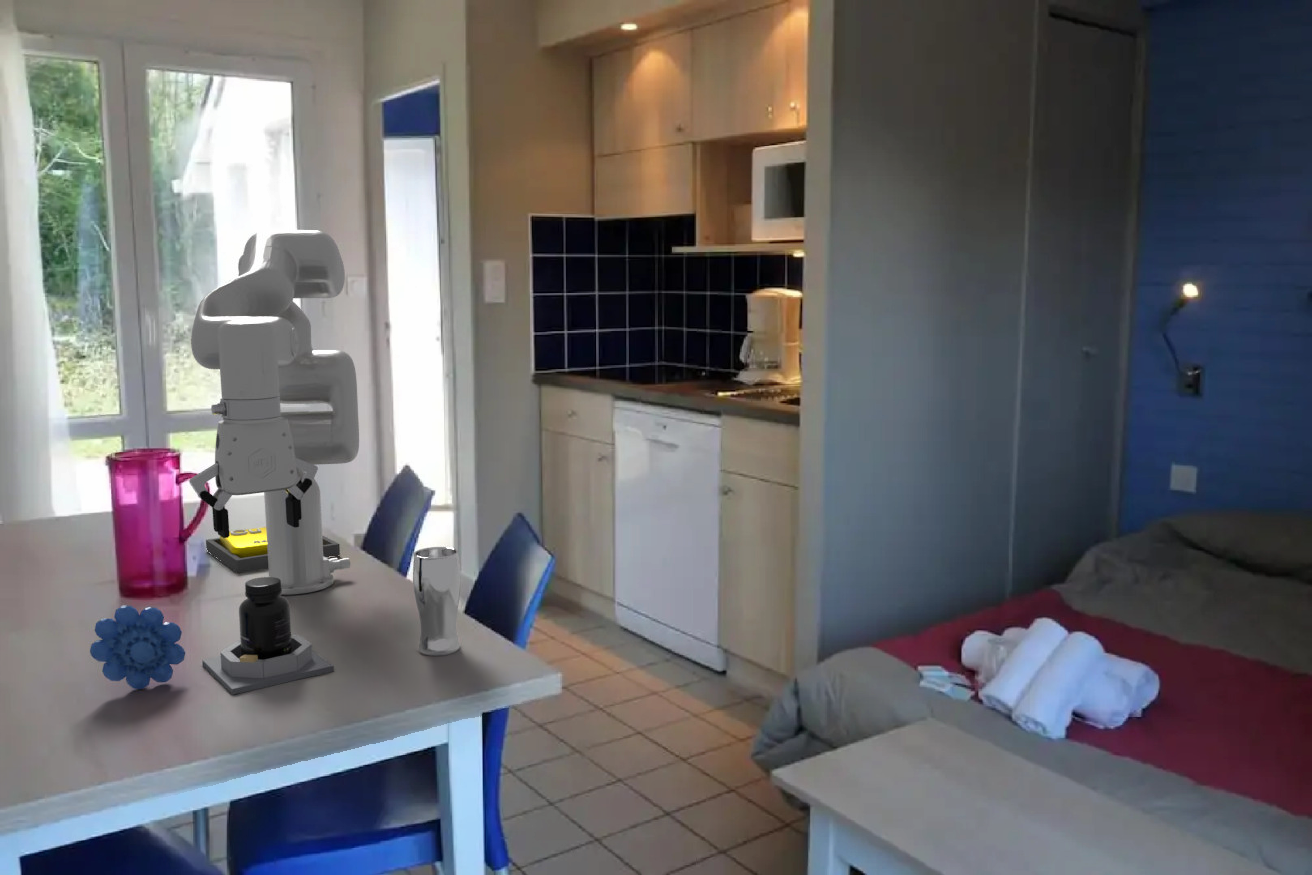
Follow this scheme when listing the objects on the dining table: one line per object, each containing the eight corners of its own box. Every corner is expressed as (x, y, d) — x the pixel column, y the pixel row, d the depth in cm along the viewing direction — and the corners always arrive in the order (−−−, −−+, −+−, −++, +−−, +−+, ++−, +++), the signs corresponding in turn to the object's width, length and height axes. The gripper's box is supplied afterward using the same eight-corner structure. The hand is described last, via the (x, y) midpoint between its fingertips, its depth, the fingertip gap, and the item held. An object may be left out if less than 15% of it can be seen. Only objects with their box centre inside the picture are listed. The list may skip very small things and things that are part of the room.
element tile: (233, 570, 206) (232, 545, 206) (219, 553, 219) (217, 530, 218) (313, 559, 214) (311, 535, 213) (294, 543, 227) (293, 521, 226)
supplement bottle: (232, 668, 152) (226, 586, 150) (259, 652, 158) (254, 573, 156) (276, 672, 150) (271, 589, 148) (301, 655, 157) (297, 575, 155)
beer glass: (422, 660, 157) (419, 560, 155) (410, 645, 163) (406, 549, 161) (468, 652, 160) (465, 554, 158) (454, 638, 166) (452, 544, 164)
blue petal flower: (99, 708, 140) (91, 620, 138) (91, 692, 145) (83, 607, 143) (194, 688, 146) (188, 604, 144) (183, 674, 152) (177, 592, 150)
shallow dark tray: (303, 536, 230) (303, 525, 230) (339, 556, 215) (339, 543, 214) (206, 551, 218) (205, 539, 218) (237, 573, 203) (236, 560, 202)
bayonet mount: (298, 644, 164) (297, 621, 163) (333, 671, 153) (332, 646, 152) (202, 665, 155) (200, 641, 155) (232, 694, 144) (231, 669, 144)
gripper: (193, 418, 140) (202, 545, 143) (323, 407, 151) (328, 526, 153) (178, 412, 146) (186, 535, 149) (303, 402, 157) (309, 517, 159)
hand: (258, 530), depth 151 cm, fingers open, 9 cm apart
